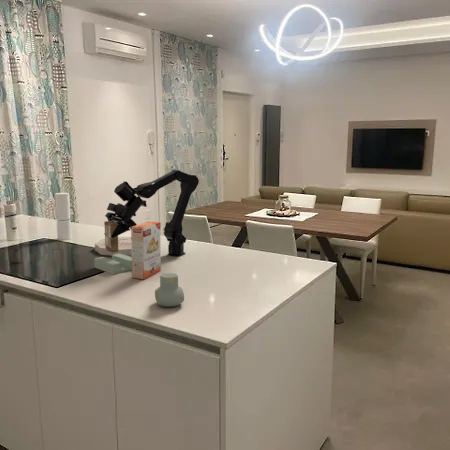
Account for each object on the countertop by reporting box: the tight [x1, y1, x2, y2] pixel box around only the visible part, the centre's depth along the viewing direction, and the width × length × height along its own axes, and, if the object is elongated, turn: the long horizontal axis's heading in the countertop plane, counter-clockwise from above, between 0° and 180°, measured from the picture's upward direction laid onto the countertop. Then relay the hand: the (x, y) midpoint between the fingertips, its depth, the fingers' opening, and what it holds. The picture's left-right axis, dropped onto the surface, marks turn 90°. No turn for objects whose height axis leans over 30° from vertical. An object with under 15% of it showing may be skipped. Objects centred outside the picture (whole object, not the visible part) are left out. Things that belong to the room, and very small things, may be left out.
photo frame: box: [104, 220, 119, 253], centre depth 193 cm, size 6×3×12 cm, turn 40°
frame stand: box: [94, 254, 132, 275], centre depth 193 cm, size 14×12×4 cm
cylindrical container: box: [54, 192, 72, 241], centre depth 247 cm, size 7×7×25 cm
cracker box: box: [130, 221, 162, 280], centre depth 182 cm, size 14×6×21 cm, turn 160°
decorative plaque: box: [94, 236, 132, 257], centre depth 227 cm, size 30×4×30 cm
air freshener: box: [154, 272, 185, 308], centre depth 150 cm, size 11×8×10 cm
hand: (108, 236), depth 192 cm, fingers closed on photo frame, 6 cm apart
